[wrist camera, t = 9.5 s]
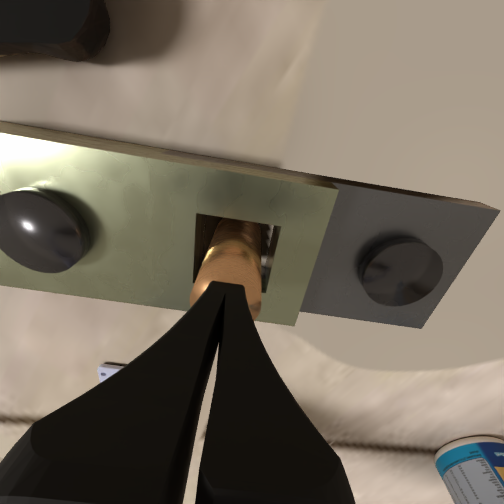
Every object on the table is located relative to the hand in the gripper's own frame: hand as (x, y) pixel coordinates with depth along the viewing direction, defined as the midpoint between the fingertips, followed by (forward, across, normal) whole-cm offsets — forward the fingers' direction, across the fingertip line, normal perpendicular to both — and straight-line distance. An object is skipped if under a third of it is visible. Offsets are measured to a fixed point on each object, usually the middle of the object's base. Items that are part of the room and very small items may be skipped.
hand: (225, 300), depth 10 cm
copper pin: (+7, 0, 0) cm, 7 cm away
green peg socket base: (+7, 0, 0) cm, 7 cm away
